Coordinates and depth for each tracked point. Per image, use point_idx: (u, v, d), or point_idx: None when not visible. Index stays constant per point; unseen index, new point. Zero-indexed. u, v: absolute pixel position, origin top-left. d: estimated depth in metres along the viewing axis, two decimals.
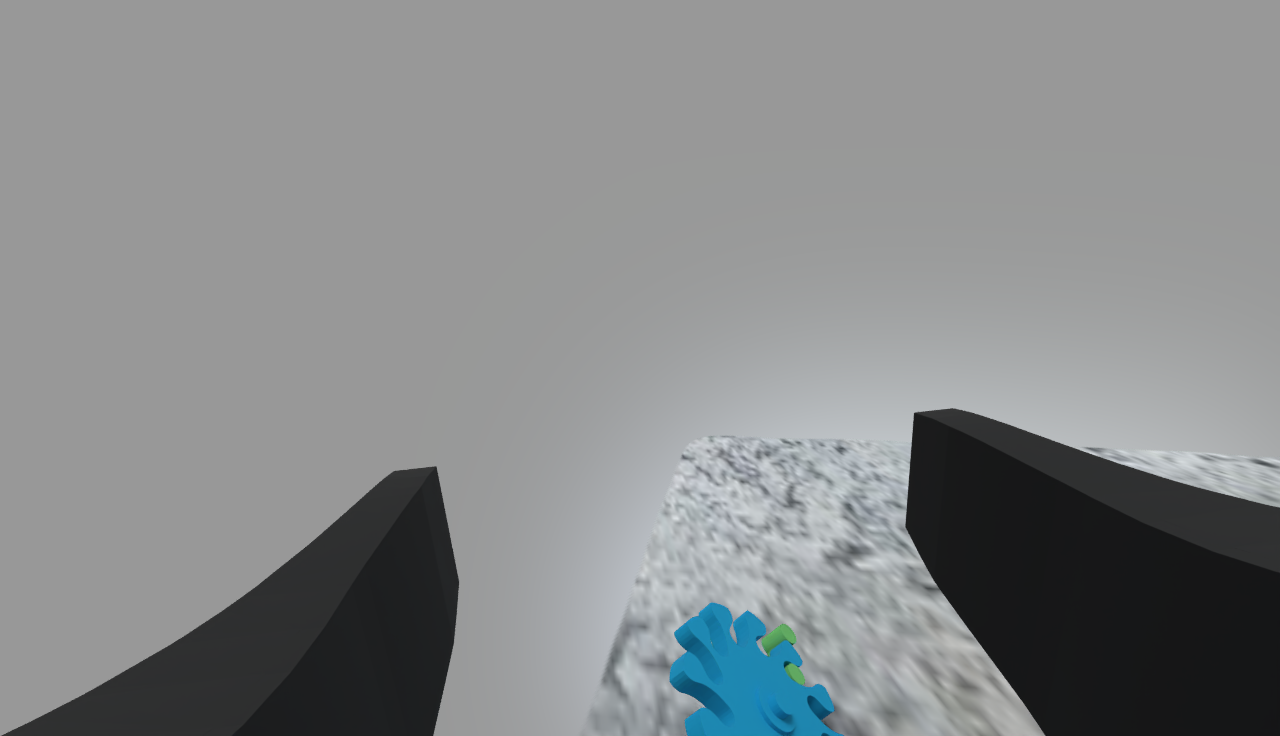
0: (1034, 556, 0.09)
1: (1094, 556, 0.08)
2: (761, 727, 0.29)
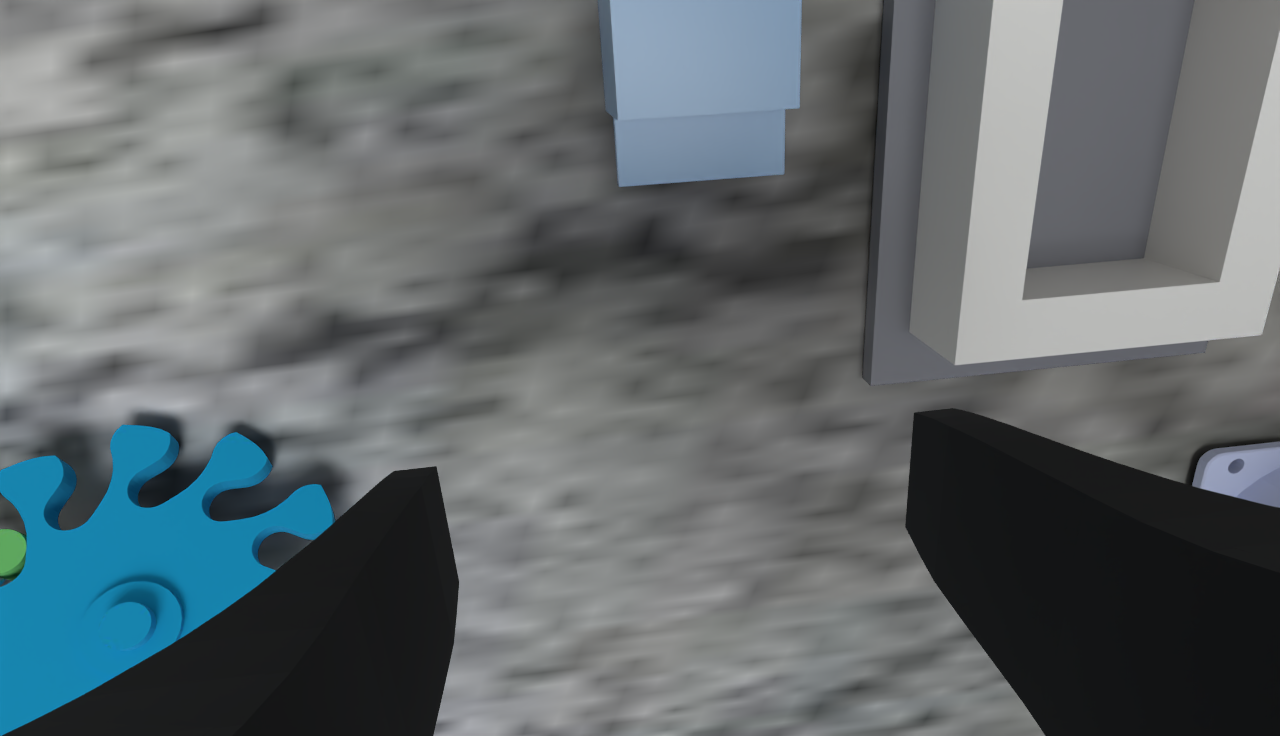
0: (1033, 556, 0.09)
1: (1094, 556, 0.08)
2: None
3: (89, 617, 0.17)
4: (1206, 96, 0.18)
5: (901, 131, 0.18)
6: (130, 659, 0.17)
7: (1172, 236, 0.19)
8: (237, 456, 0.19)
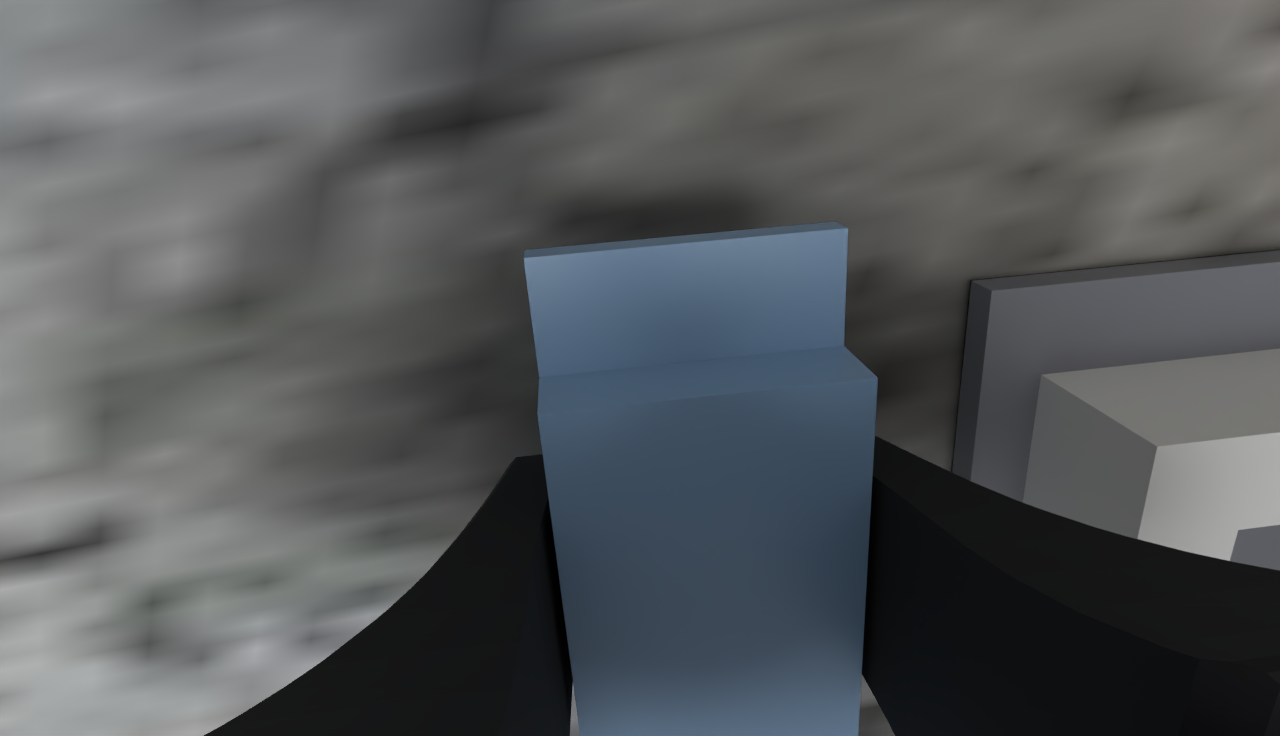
0: (890, 575, 0.09)
1: (932, 577, 0.07)
2: None
3: None
4: None
5: None
6: None
7: None
8: None
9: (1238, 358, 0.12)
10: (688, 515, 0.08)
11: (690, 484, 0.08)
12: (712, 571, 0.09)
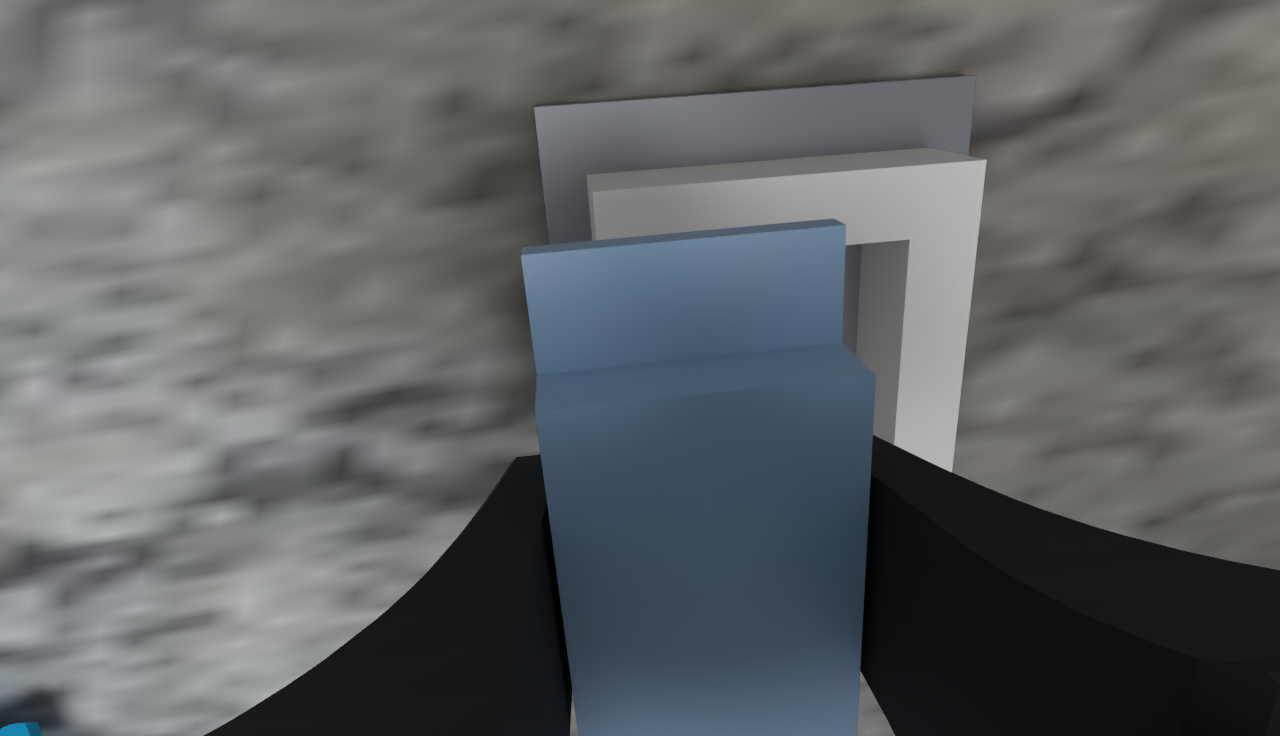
0: (888, 575, 0.09)
1: (932, 577, 0.07)
2: None
3: None
4: (872, 341, 0.18)
5: None
6: None
7: None
8: None
9: (728, 164, 0.17)
10: (686, 513, 0.08)
11: (688, 482, 0.08)
12: (710, 569, 0.09)
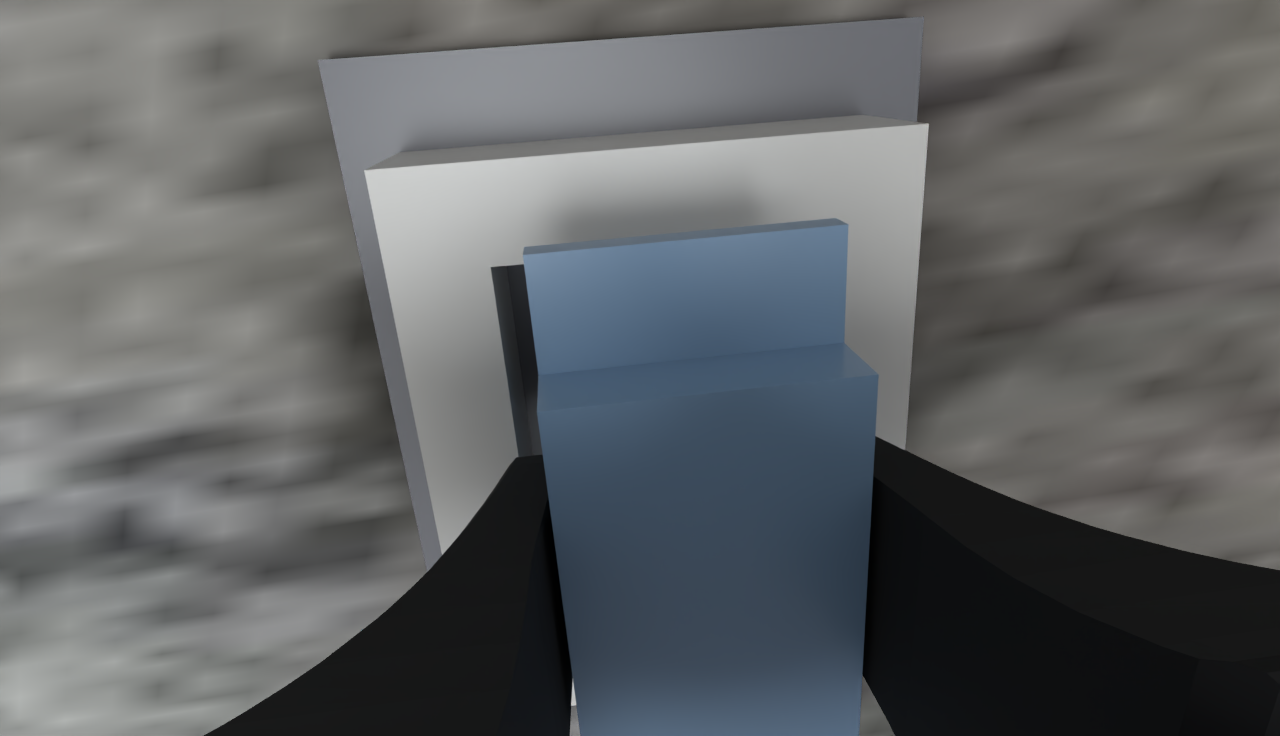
0: (890, 575, 0.09)
1: (932, 577, 0.08)
2: None
3: None
4: None
5: None
6: None
7: None
8: None
9: (590, 137, 0.13)
10: (688, 513, 0.08)
11: (690, 482, 0.08)
12: (712, 569, 0.09)
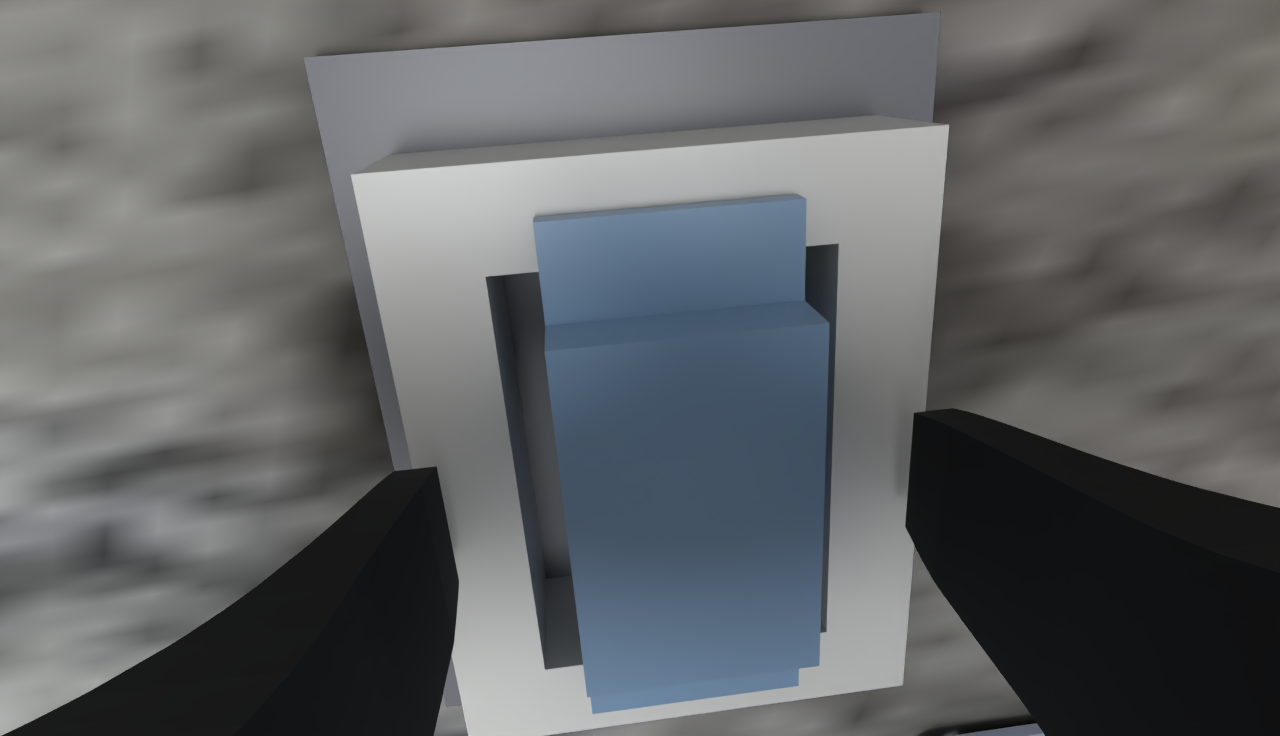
0: (1033, 557, 0.09)
1: (1094, 556, 0.08)
2: None
3: None
4: None
5: None
6: None
7: None
8: None
9: (590, 138, 0.12)
10: (671, 441, 0.10)
11: (672, 414, 0.10)
12: (692, 491, 0.10)
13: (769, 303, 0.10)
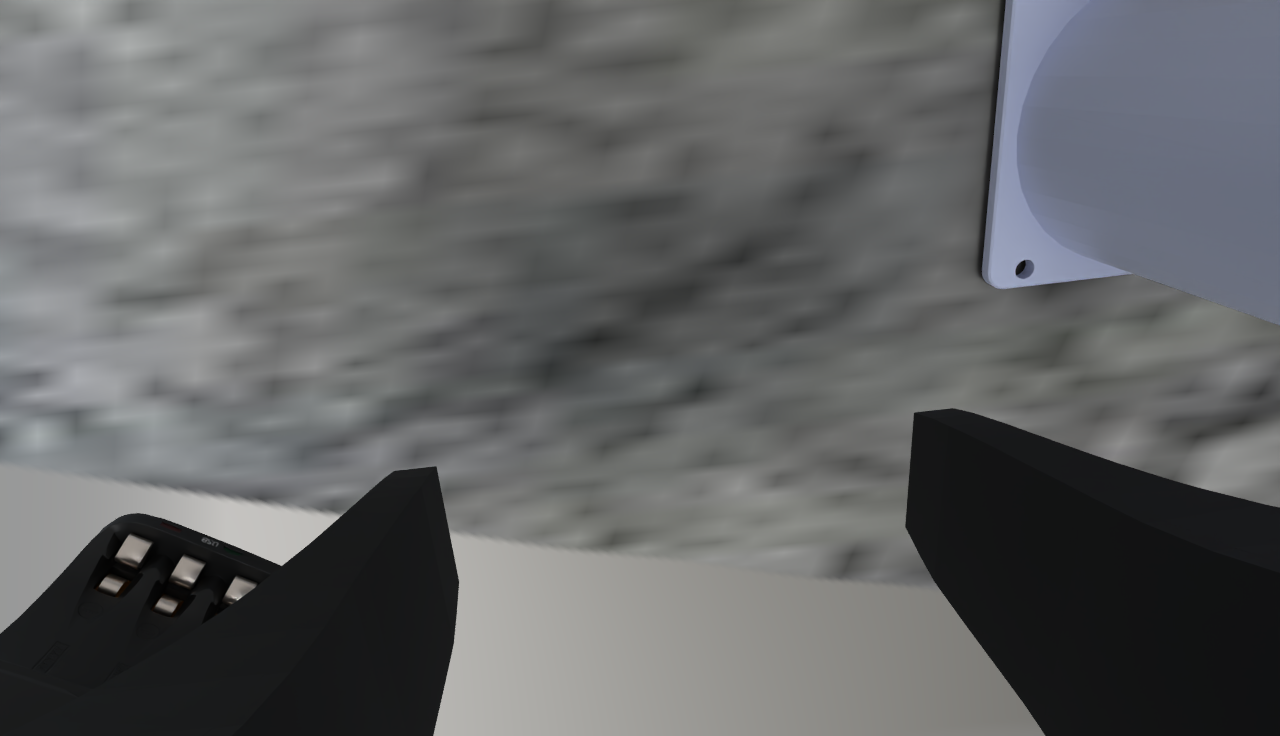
0: (1033, 557, 0.09)
1: (1094, 556, 0.08)
2: None
3: None
4: None
5: None
6: None
7: None
8: None
9: None
10: None
11: None
12: None
13: None
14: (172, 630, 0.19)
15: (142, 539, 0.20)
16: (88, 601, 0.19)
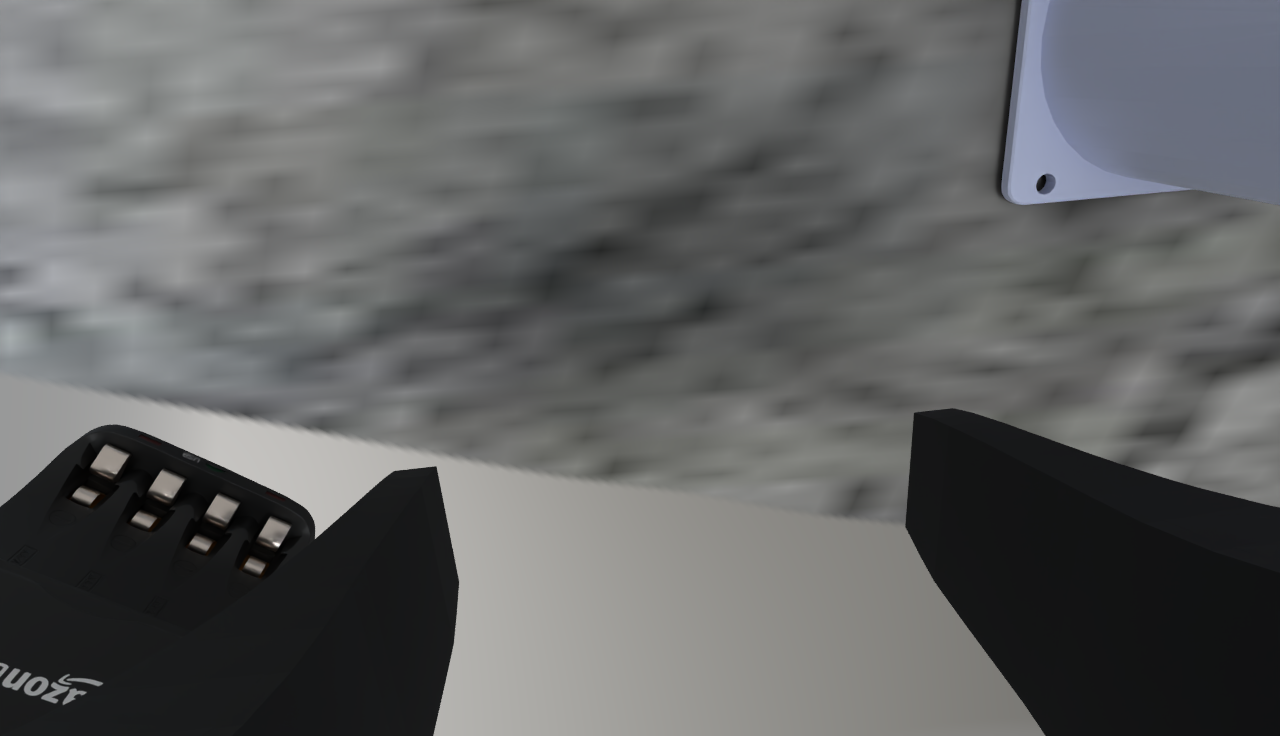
0: (1033, 556, 0.09)
1: (1094, 556, 0.08)
2: None
3: None
4: None
5: None
6: None
7: None
8: None
9: None
10: None
11: None
12: None
13: None
14: (149, 543, 0.18)
15: (119, 450, 0.19)
16: (60, 509, 0.18)
